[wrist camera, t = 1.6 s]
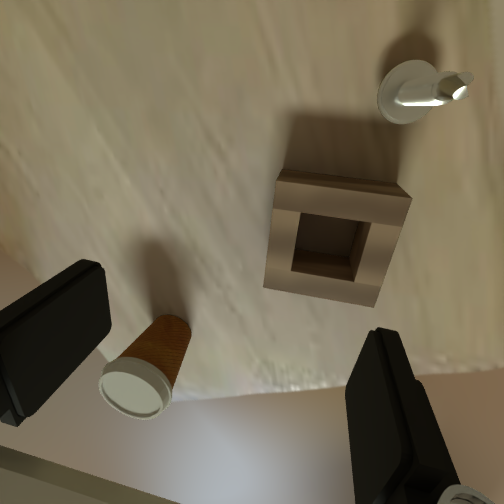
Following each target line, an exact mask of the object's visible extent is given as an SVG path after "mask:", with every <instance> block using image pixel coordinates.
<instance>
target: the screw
mask: <svg viewBox="0 0 504 504" xmlns="http://www.w3.org/2000/svg"><path fill="white" fill-rule="evenodd" d="M473 79H474V75H473V74H472V73H471V72H462V73H456V72H450V71H445V72H440V73H437V71H436V69H435V68H434V67H433V66H432V65H431V64H430V63H428V62H426V61H422V60H409V61H406V62H403V63H401V64H399V65H397V66H396V67H394V68H393V69H392V70H391V71H390V72H389V73H388V74H387V75H386V76H385V78H384V79H383V81H382V82H381V85H380V87H379V90H378V95H377V104H378V109H379V111H380V113H381V114H382V116H383V117H384V118H385V119H387V120H388V121H390V122H392V123H395V124H409V123H412V122H415V121H417V120H419V119H420V118H422V117H423V116H424V115H426V114H427V113H428V112H429V111H430V110H431V108H432V107H433V106H438V105H443V104H447V103H449V102H451V101H452V100H460V99H464V98H466V97H468V91H467V86H468V85H469V84H470V83H471V82H472V81H473Z"/></svg>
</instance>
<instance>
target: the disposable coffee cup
mask: <svg viewBox="0 0 504 504" xmlns="http://www.w3.org/2000/svg"><path fill="white" fill-rule="evenodd" d="M190 339H191V331H190V328H189V327H188V325H187V324H186V323H185V322H184V321H183V320H181V319H180V318H178V317H176V316H172V315H162V316H160V317H158V318H157V319H156V320H155V321H154V322H153V323H152V324H151V325H150V326H149V327H148V328H147V329H146V330H145V331H144V332H143V333H142V334H141V335H140V336H139V337H138V338H137V339H136V340H135V341H134V342H133V343H132V344H131V345H130V346H129V347H128V348H127V349H126V350H125V351H124V352H123V353H122V354H121V355H120V356H119V357H118V358H117V359H115V360H113V361H111V362H109V363H108V364H107V365H106V366H105V367H104V368H103V370H102V375H101V378H100V380H99V390H100V393H101V395H102V397H103V398H104V399H105V401H106V402H107V403H108V404H109V405H110V406H112V407H113V408H114V409H115V410H117V411H119V412H120V413H123V414H124V415H126V416H129V417H133V418H136V419H144V420H147V419H153V418H156V417H157V416H159V415H160V414H161V412H162V411H163V410H165V409H166V408H168V406H169V405H170V403H171V399H172V389H173V386H174V383H175V381H176V378H177V375H178V372H179V369H180V367H181V364H182V361H183V358H184V356H185V353H186V350H187V347H188V344H189V341H190Z"/></svg>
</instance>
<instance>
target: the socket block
mask: <svg viewBox="0 0 504 504" xmlns="http://www.w3.org/2000/svg"><path fill="white" fill-rule="evenodd" d="M411 201H412V198H411V197H410V196H409V195H408V194H407V193H406V192H405V191H404V190H403V189H402V188H401V187H400V186H399V185H398V184H396V183H388V182H380V181H372V180H364V179H356V178H348V177H340V176H332V175H324V174H316V173H308V172H300V171H292V170H284V169H282V171H281V172H280V174H279V176H278V178H277V180H276V186H275V194H274V202H273V211H272V219H271V227H270V235H269V243H268V251H267V260H266V268H265V276H264V284H263V288H269V289H274V290H280V291H285V292H291V293H296V294H302V295H307V296H313V297H318V298H324V299H329V300H335V301H340V302H346V303H351V304H357V305H362V306H367V307H373V308H374V306H375V303H376V301H377V298H378V295H379V292H380V289H381V286H382V283H383V281H384V278H385V275H386V272H387V269H388V266H389V264H390V261H391V258H392V255H393V252H394V249H395V247H396V244H397V241H398V238H399V235H400V232H401V230H402V227H403V224H404V221H405V218H406V215H407V213H408V210H409V207H410V204H411ZM300 213H308V214H315V215H322V216H329V217H336V218H343V219H350V220H357V221H359V222H358V226H357V230H356V233H355V237H354V241H353V244H352V248H351V252H350V255H349V257H342V256H336V255H330V254H324V253H318V252H311V251H305V250H299V249H294V248H295V242H296V237H297V231H298V225H299V219H300Z"/></svg>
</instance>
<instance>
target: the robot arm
mask: <svg viewBox="0 0 504 504" xmlns="http://www.w3.org/2000/svg"><path fill="white" fill-rule="evenodd" d="M111 326H112V323H111V315H110V307H109V300H108V292H107V284H106V276H105V270H104V268H102V267H101V264H100V263H98V262H94V261H90V260H86V259H81V260H79V261H77V262H76V263H74V264H73V265H71V266H69V267H68V268H66V269H65V270H63V271H62V272H60V273H59V274H57V275H55V276H54V277H52V278H51V279H49V280H48V281H46V282H44V283H43V284H41V285H40V286H38V287H37V288H35V289H34V290H32V291H30V292H29V293H27V294H26V295H24V296H23V297H21V298H20V299H18V300H16V301H15V302H13V303H12V304H10V305H9V306H7V307H5V308H4V309H3V310H1V311H0V420H1V422H3V423H6V424H9V425H12V426H15V427H18V426H19V425H20V424H21V422H23V420H24V419H25V418H26V417H30V416H31V415H33V414H34V413H35V412H37V410H38V409H39V408H40V407H41V406H42V405H43V404H44V403H45V402H46V401H47V400H48V399H49V397H50V396H51V395H52V394H53V393H54V392H55V391H56V390H57V389H58V388H59V387H60V386H61V384H62V383H63V382H64V381H65V380H66V379H67V378H68V377H69V376H70V375H71V373H72V372H73V371H74V370H75V369H76V368H77V367H78V366H79V365H80V364H81V363H82V362H83V361H84V360H85V359H86V357H87V356H88V355H89V354H90V353H91V352H92V351H93V350H94V349H95V348H96V347H97V346H98V344H99V343H100V342H101V341H102V340H103V339H104V338H105V337H106V336H107V335H108V333H109V332H110V330H111ZM345 400H346V410H347V420H348V431H349V441H350V452H351V461H352V473H353V483H354V493H355V504H495V503H494V502H492V501H491V500H490V499H489V498H487V497H486V496H485V495H483V494H482V493H480V492H479V491H476V490H475V489H473V488H470V487H468V486H464V485H461V483H460V481H459V478H458V476H457V473H456V470H455V468H454V465H453V463H452V460H451V457H450V455H449V452H448V449H447V447H446V444H445V441H444V439H443V436H442V434H441V431H440V428H439V426H438V423H437V421H436V418H435V415H434V413H433V410H432V407H431V405H430V402H429V400H428V397H427V394H426V392H425V389H424V387H423V385H422V383H421V382H420V381H419V380H415V377H414V374H413V372H412V369H411V366H410V363H409V361H408V358H407V355H406V352H405V349H404V347H403V344H402V341H401V338H400V336H399V333H398V332H397V331H393V330H389V329H385V328H380V327H378V328H377V329H376V330H375V331H373V330H370V331H369V333H368V336H367V338H366V340H365V343H364V345H363V347H362V350H361V352H360V354H359V357H358V359H357V361H356V364H355V366H354V368H353V371H352V373H351V376H350V378H349V380H348V383H347V385H346V390H345ZM0 504H180V503H177V502H174V501H170V500H167V499H165V498H161V497H158V496H155V495H152V494H149V493H146V492H143V491H140V490H137V489H134V488H131V487H128V486H125V485H122V484H119V483H116V482H112V481H109V480H106V479H103V478H100V477H97V476H94V475H91V474H88V473H85V472H81V471H78V470H75V469H72V468H69V467H66V466H63V465H60V464H57V463H54V462H51V461H47V460H44V459H41V458H38V457H35V456H32V455H29V454H26V453H22V452H19V451H16V450H13V449H10V448H7V447H4V446H1V445H0Z"/></svg>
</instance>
